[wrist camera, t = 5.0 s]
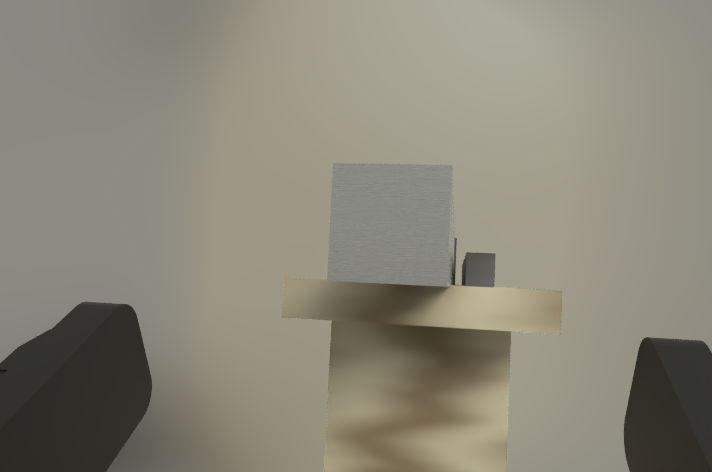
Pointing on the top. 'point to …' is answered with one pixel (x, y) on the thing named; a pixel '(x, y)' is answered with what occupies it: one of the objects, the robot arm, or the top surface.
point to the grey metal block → (392, 224)
